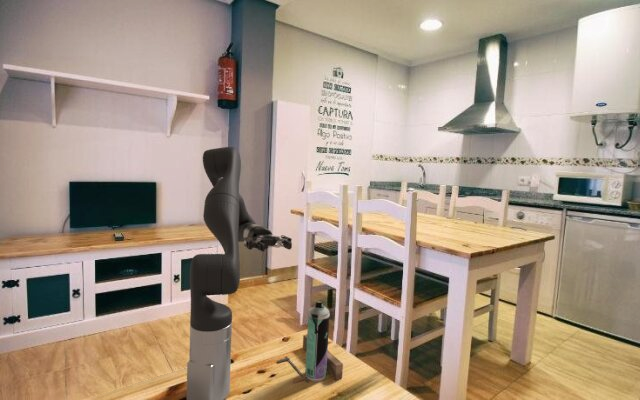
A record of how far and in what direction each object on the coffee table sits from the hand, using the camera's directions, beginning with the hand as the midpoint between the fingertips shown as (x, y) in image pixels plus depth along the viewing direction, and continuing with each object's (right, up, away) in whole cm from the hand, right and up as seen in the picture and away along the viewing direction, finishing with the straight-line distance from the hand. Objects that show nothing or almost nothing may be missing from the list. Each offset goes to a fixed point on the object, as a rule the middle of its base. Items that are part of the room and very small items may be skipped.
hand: (277, 247), depth 104 cm
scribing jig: (+9, -31, -9) cm, 34 cm away
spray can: (+12, -32, -12) cm, 36 cm away
